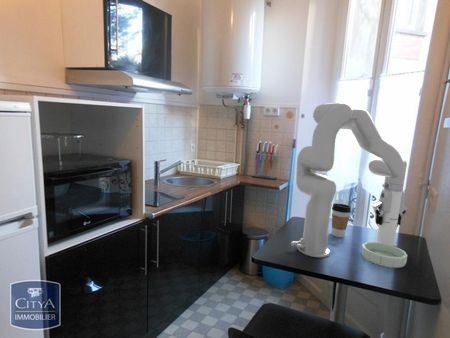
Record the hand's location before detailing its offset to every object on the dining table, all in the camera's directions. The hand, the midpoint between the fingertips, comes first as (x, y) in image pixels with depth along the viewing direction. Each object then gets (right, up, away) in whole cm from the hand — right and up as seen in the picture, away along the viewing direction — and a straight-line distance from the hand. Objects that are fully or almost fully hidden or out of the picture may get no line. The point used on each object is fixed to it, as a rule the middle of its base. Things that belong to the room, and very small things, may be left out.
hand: (387, 224), depth 136 cm
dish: (-11, -11, -16) cm, 22 cm away
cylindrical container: (-1, -9, +1) cm, 9 cm away
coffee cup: (-19, -7, +9) cm, 22 cm away
